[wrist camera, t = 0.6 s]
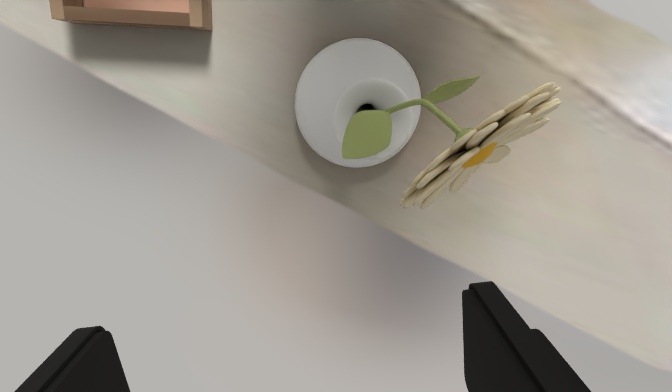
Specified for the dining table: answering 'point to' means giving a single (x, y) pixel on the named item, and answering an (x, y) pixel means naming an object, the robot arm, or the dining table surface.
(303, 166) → the dining table surface
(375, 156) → the flower in vase
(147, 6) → the slot rack
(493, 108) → the dining table surface
